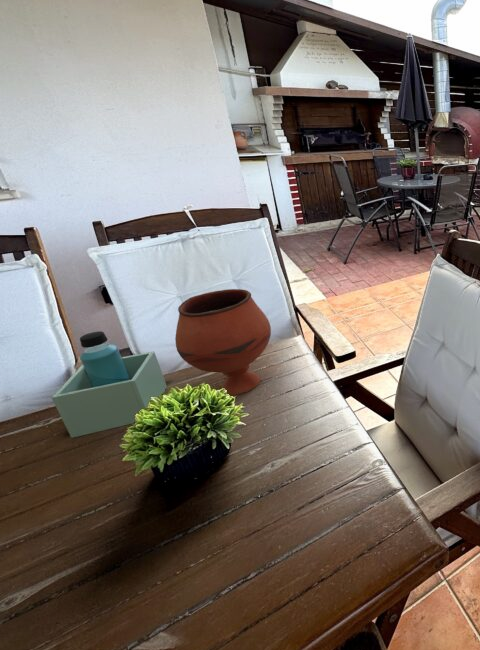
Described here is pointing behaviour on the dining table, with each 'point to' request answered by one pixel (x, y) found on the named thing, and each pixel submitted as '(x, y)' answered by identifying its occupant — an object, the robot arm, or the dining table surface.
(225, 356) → the goblet
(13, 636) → the dining table surface
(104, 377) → the beverage bottle
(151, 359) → the bin
